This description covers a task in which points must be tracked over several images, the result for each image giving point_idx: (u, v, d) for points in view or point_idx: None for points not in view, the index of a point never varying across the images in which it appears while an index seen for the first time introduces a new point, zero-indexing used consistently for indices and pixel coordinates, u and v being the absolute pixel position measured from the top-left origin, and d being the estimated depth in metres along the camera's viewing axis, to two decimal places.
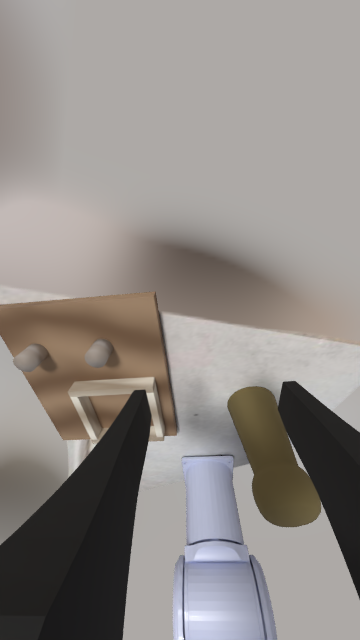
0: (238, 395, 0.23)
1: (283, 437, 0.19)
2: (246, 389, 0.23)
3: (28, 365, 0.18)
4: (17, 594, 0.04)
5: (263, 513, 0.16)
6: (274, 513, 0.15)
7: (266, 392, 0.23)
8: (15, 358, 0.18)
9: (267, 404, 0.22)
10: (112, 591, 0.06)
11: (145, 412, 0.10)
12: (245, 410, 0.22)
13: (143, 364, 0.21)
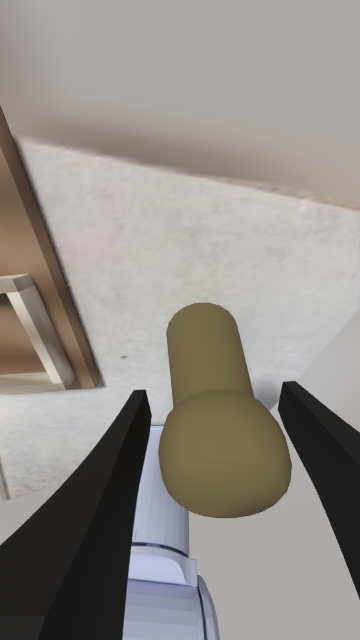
0: (177, 316, 0.15)
1: (232, 358, 0.10)
2: (190, 306, 0.15)
3: None
4: (17, 594, 0.04)
5: (166, 487, 0.07)
6: (182, 485, 0.06)
7: (221, 309, 0.15)
8: None
9: (217, 320, 0.13)
10: (112, 591, 0.06)
11: (145, 412, 0.10)
12: (181, 330, 0.13)
13: (3, 245, 0.12)
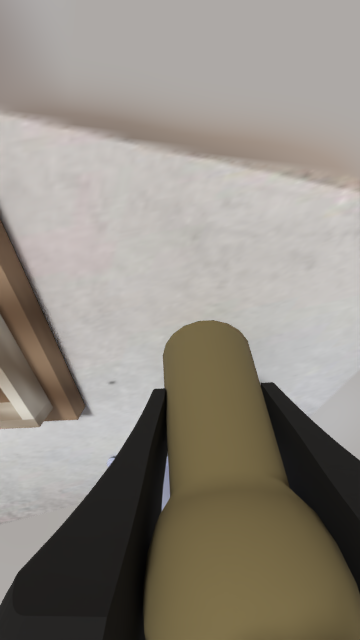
0: (176, 337, 0.12)
1: (252, 409, 0.07)
2: (192, 325, 0.12)
3: None
4: (72, 595, 0.04)
5: None
6: None
7: (231, 330, 0.12)
8: None
9: (227, 347, 0.10)
10: None
11: None
12: (181, 360, 0.10)
13: None
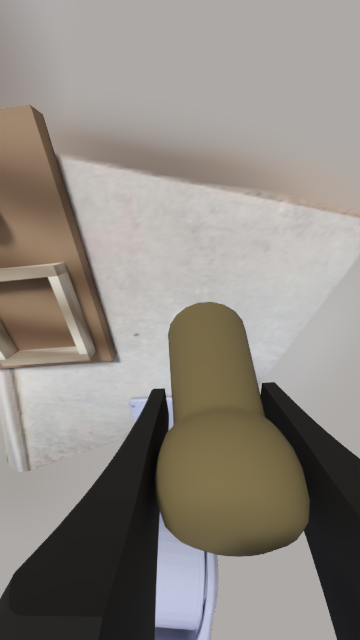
0: (179, 317, 0.14)
1: (239, 367, 0.09)
2: (193, 307, 0.14)
3: None
4: (69, 594, 0.04)
5: (163, 521, 0.06)
6: (180, 525, 0.06)
7: (227, 310, 0.14)
8: None
9: (222, 322, 0.12)
10: (146, 591, 0.06)
11: (165, 411, 0.10)
12: (183, 333, 0.12)
13: (44, 239, 0.15)
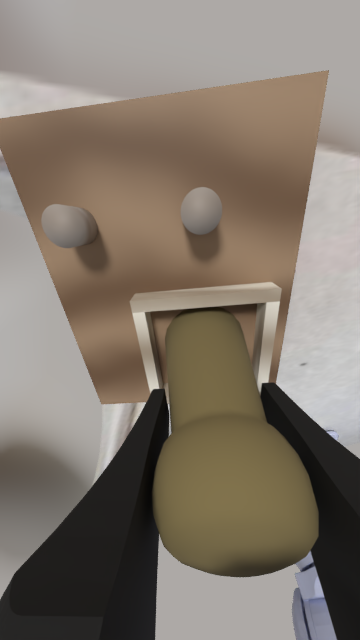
0: (176, 320, 0.14)
1: (238, 370, 0.09)
2: (189, 310, 0.14)
3: (68, 231, 0.10)
4: (69, 594, 0.04)
5: (162, 540, 0.06)
6: (179, 545, 0.05)
7: (224, 312, 0.13)
8: (46, 212, 0.09)
9: (220, 325, 0.12)
10: (147, 591, 0.06)
11: (165, 411, 0.10)
12: (179, 337, 0.12)
13: (260, 253, 0.12)
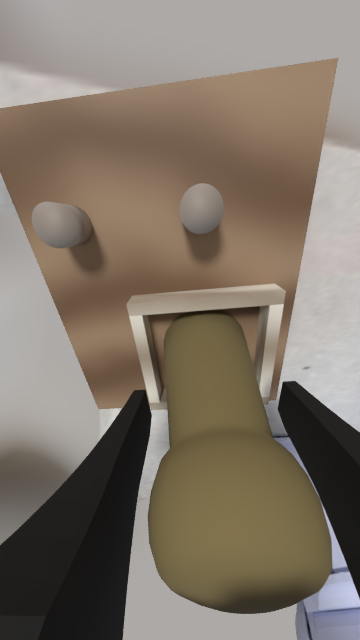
0: (175, 324, 0.13)
1: (241, 378, 0.08)
2: (189, 312, 0.13)
3: (60, 230, 0.09)
4: (17, 594, 0.04)
5: None
6: (178, 581, 0.05)
7: (225, 315, 0.13)
8: (36, 210, 0.09)
9: (221, 329, 0.11)
10: (112, 591, 0.06)
11: (145, 412, 0.10)
12: (178, 342, 0.11)
13: (262, 254, 0.11)
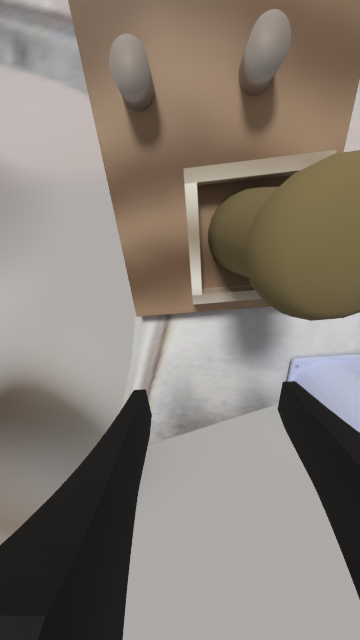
0: (223, 203, 0.14)
1: None
2: (236, 192, 0.14)
3: (135, 69, 0.10)
4: (17, 594, 0.04)
5: (272, 263, 0.06)
6: (304, 230, 0.05)
7: None
8: (115, 44, 0.09)
9: None
10: (112, 591, 0.06)
11: (145, 412, 0.10)
12: (234, 201, 0.12)
13: (312, 121, 0.12)
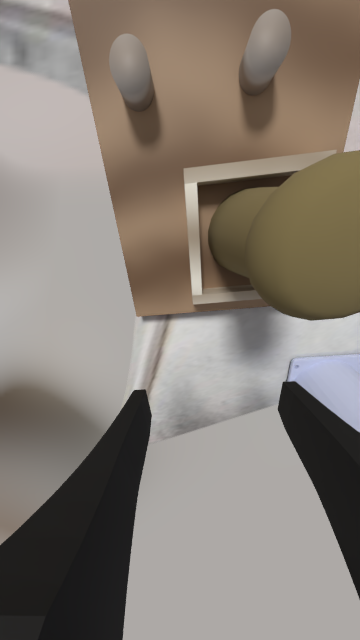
0: (223, 203, 0.14)
1: None
2: (236, 192, 0.14)
3: (135, 69, 0.10)
4: (17, 594, 0.04)
5: (272, 263, 0.06)
6: (304, 230, 0.05)
7: None
8: (115, 44, 0.09)
9: None
10: (112, 591, 0.06)
11: (145, 412, 0.10)
12: (234, 201, 0.12)
13: (312, 121, 0.12)
